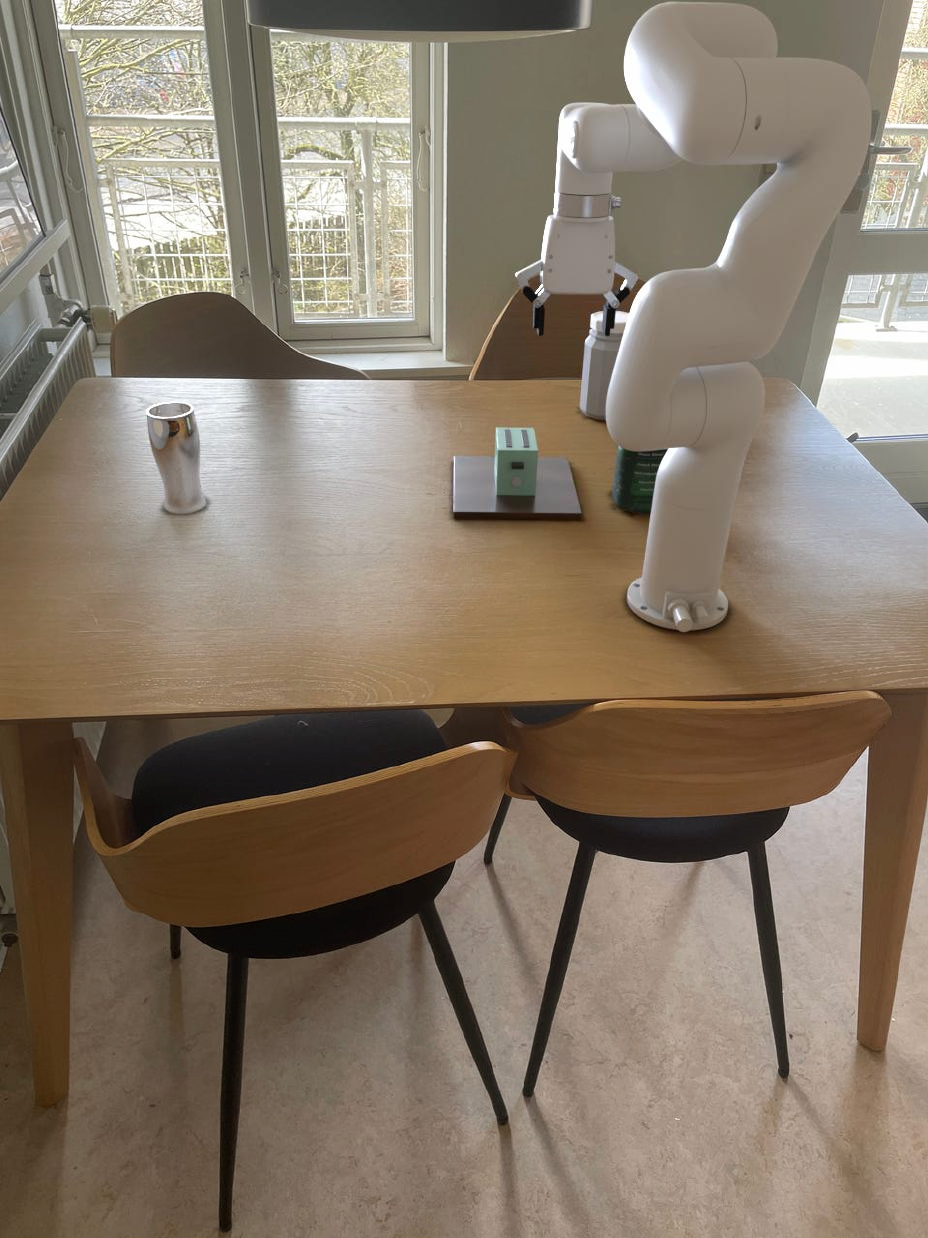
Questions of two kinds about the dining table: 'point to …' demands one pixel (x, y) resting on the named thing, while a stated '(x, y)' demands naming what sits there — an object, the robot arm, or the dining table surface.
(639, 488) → the coffee jar
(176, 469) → the beer glass
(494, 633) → the dining table surface
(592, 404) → the jar
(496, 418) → the dining table surface
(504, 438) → the toaster
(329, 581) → the dining table surface
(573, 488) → the board
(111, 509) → the dining table surface
